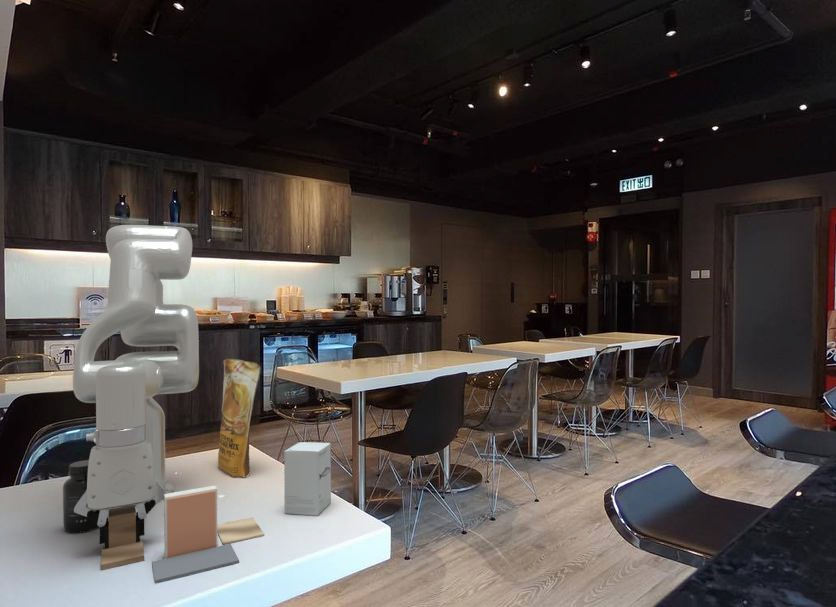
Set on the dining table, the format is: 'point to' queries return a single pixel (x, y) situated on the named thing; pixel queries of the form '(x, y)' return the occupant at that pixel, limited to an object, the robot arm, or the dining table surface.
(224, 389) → the pancake mix bag
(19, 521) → the dining table surface
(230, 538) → the pad
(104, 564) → the wooden block stack
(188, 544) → the tile
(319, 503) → the supplement box
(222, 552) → the mat
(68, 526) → the supplement bottle
